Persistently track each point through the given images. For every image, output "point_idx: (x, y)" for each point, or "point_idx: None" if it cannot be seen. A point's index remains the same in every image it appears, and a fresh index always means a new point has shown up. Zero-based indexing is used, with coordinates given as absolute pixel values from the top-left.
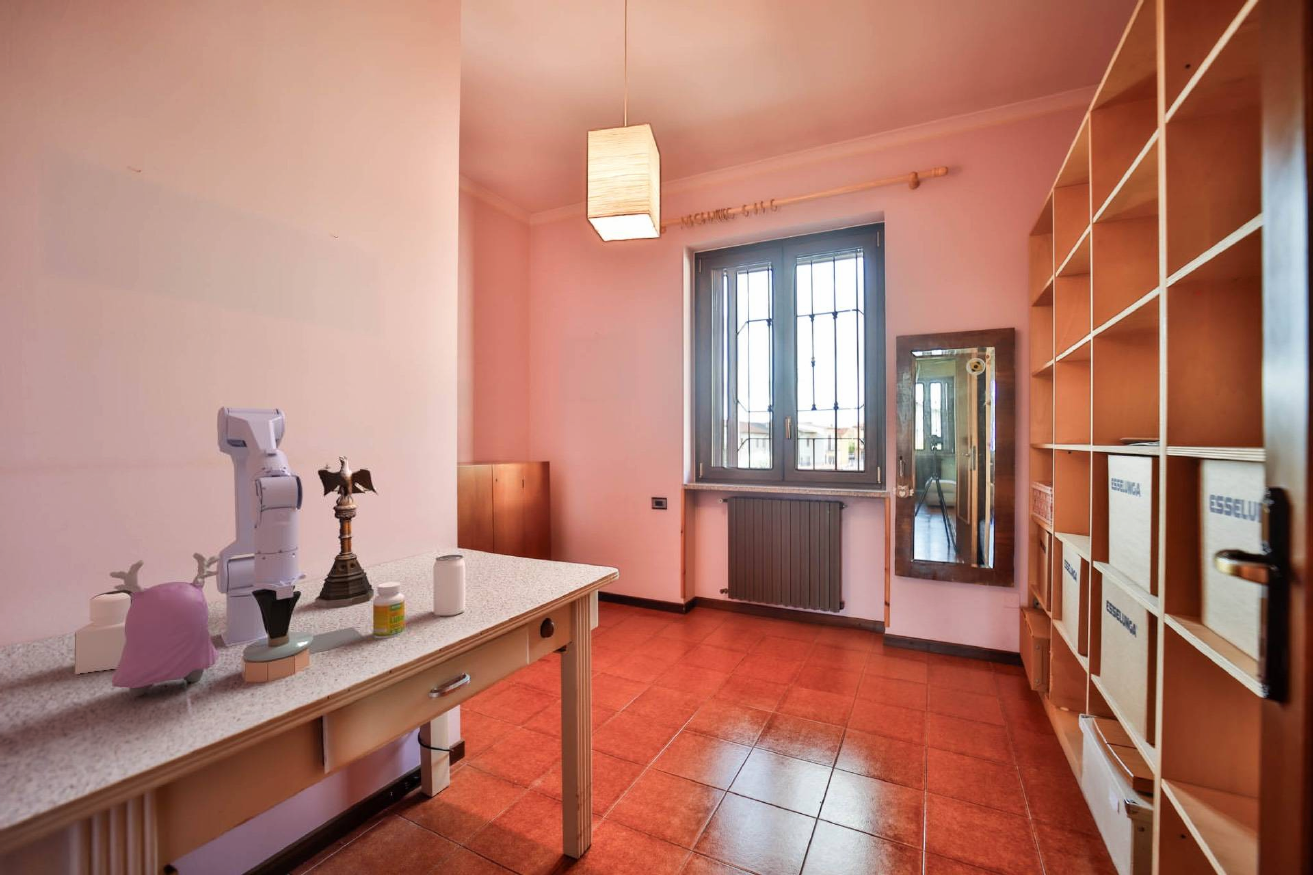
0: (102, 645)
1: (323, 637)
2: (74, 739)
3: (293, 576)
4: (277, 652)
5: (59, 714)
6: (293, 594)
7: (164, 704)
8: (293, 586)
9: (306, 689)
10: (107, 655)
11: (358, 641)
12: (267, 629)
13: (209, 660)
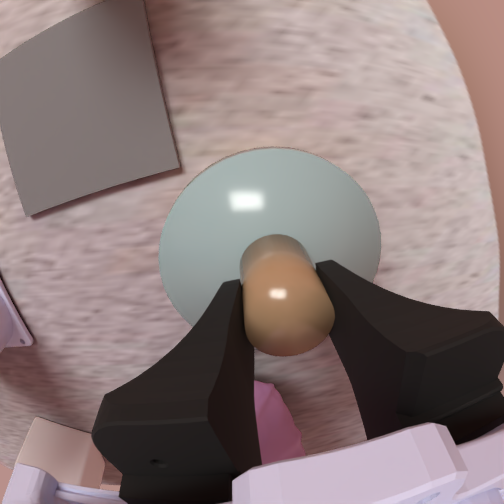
0: (92, 482)
1: (34, 130)
2: (362, 429)
3: (496, 499)
4: (368, 262)
5: None
6: (497, 362)
7: (316, 389)
8: (212, 418)
9: (441, 166)
10: (95, 466)
11: (139, 12)
12: (333, 340)
13: (268, 394)
